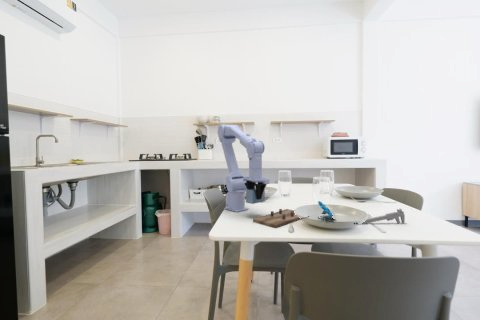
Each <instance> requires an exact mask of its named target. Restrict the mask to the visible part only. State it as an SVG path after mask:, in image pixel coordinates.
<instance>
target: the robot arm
mask: <svg viewBox="0 0 480 320" xmlns="http://www.w3.org/2000/svg"><path fill="white" fill-rule="evenodd" d="M217 137H218V140H219V142H220V143H221V147H222V150H223V155H224V159H225V162H226V166H227V169H228V172H229V174H228V175H227V176H226V178H225V183H226V184H225V186H226V189H227V190H228V191H227V192H226V195H225V207H224V209H225V210H228V211H232V212H235V213H240V212H243V211H247V210H249V208H248V207H245V205H246V189H250V188H256V191H257V199H258V200H259V199H261V198H262V194H263V191H264V189H266V187H267V185H270V179H268V178H264V177H263V172H262V171H263V170H262V169H263V167H262V166H263V165H262V164H263V159H262V158H263V153H264V152H265V149H266V148H265V147H266V146H265V144H264V142H263V141H261V140H259V141H258V140H257V139H256V138H254V137H253V136H251V134H250V133H244V132H243V131H242V130H241V129H240V126H239V125H237V124H224V123H221V124H219V126H218V128H217ZM237 139H238V140H239V144H241V146H242V147H244V148H245V150H246V153H247V158H248V176H245V174H244V173H242V172H241V171H240V168H239V165H238V164H239V163H238V161H237V158H236V153H235V150H234V146H233V143H235V142H236V140H237Z"/></svg>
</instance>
